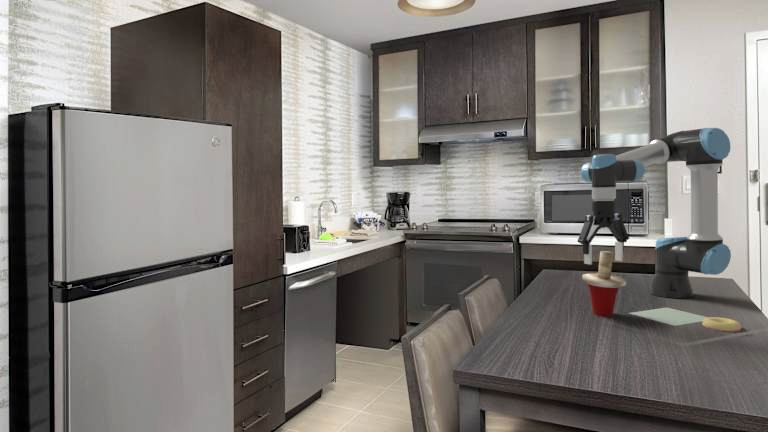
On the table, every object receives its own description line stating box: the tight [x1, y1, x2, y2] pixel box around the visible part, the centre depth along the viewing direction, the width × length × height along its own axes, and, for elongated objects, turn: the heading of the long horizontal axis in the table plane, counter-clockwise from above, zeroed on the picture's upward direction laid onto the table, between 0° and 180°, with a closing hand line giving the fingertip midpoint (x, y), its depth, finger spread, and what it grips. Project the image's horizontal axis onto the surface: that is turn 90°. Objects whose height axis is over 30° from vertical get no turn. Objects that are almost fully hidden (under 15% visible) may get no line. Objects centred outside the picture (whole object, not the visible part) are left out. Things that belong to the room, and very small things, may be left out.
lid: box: [581, 250, 628, 288], centre depth 177 cm, size 14×14×10 cm
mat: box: [628, 307, 709, 327], centre depth 173 cm, size 18×18×1 cm
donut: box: [701, 316, 742, 333], centre depth 159 cm, size 10×5×9 cm
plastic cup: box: [586, 282, 620, 317], centre depth 178 cm, size 11×11×12 cm
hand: (603, 262), depth 177 cm, fingers open, 13 cm apart
